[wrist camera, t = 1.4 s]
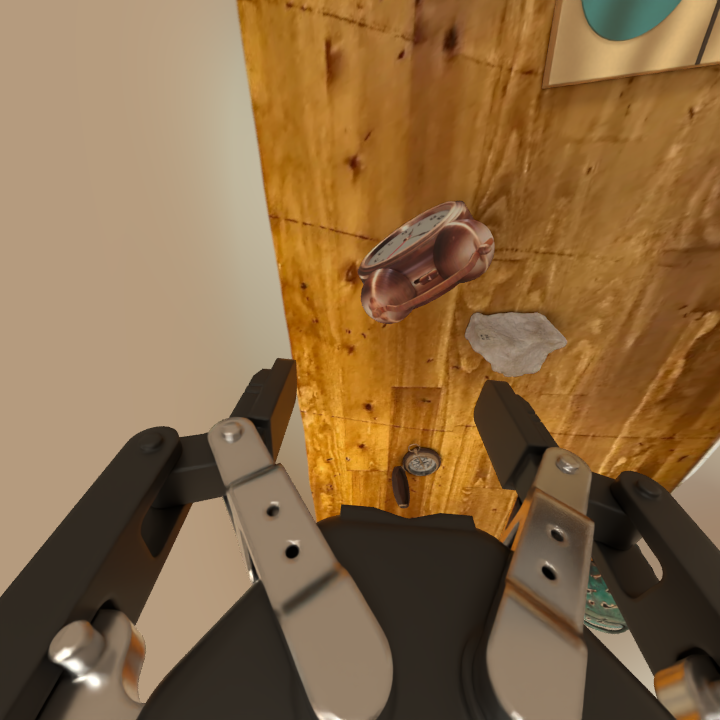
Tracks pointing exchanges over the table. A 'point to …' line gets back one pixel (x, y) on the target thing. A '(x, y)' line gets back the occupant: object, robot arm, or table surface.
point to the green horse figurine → (602, 604)
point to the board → (629, 39)
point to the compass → (413, 471)
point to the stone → (514, 341)
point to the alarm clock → (424, 261)
